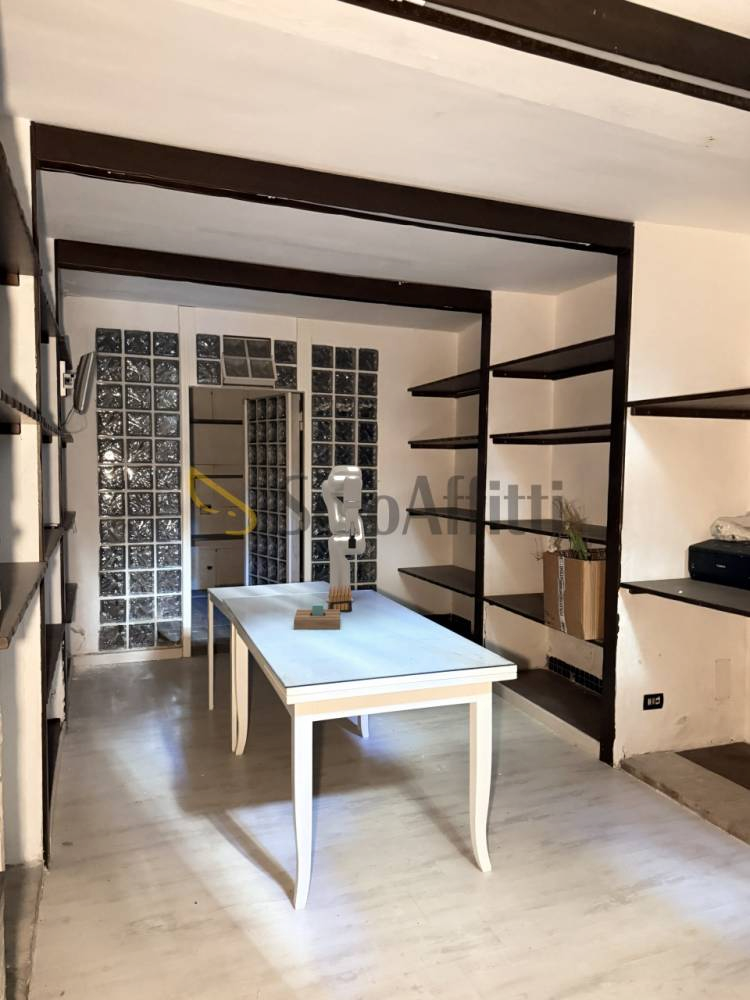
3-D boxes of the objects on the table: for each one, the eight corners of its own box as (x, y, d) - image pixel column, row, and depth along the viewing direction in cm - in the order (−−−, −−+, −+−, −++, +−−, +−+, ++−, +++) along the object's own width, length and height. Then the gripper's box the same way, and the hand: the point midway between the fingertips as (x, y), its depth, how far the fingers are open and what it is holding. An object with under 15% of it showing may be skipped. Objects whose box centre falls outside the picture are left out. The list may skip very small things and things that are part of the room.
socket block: (296, 618, 282) (296, 609, 282) (340, 618, 283) (340, 609, 283) (294, 629, 264) (294, 619, 264) (339, 629, 265) (340, 619, 265)
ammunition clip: (350, 610, 298) (350, 584, 297) (352, 611, 296) (352, 584, 296) (327, 613, 294) (327, 585, 293) (329, 613, 292) (329, 586, 291)
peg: (312, 622, 276) (312, 603, 275) (323, 622, 276) (323, 603, 276) (312, 625, 271) (312, 605, 271) (323, 625, 272) (323, 605, 271)
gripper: (343, 504, 293) (343, 546, 294) (343, 506, 278) (343, 550, 279) (360, 504, 293) (360, 546, 294) (361, 506, 278) (361, 550, 279)
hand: (352, 548), depth 287 cm, fingers closed
